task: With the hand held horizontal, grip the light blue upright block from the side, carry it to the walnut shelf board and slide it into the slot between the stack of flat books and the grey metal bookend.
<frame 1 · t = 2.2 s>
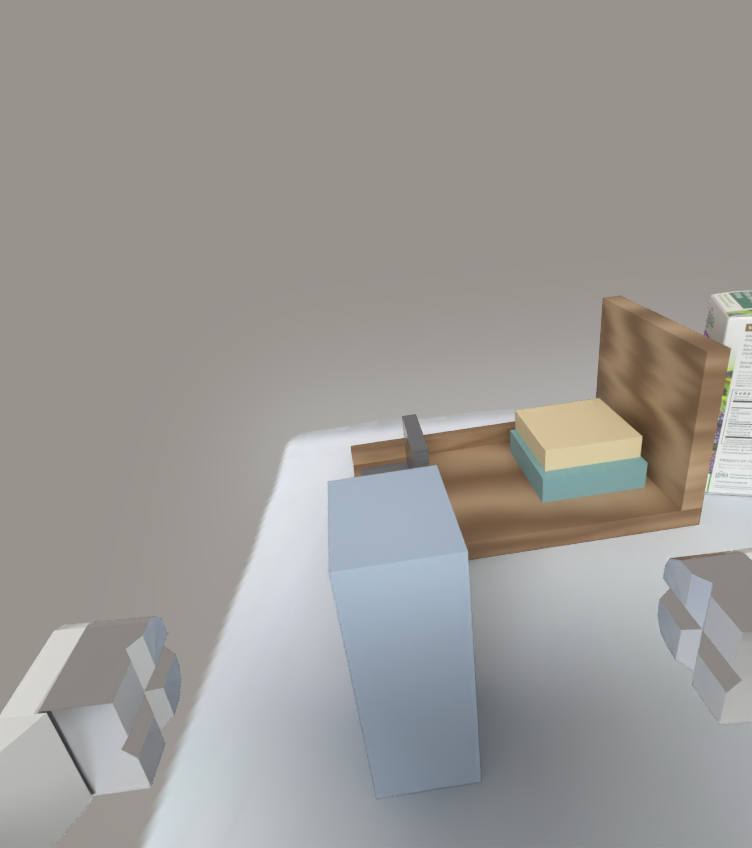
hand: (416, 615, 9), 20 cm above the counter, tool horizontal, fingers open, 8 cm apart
syrup box: (726, 478, 44), on the counter
bookend: (391, 461, 45), point 4 cm above the counter
light blue upright block: (419, 730, 28), on the counter
book stack: (573, 447, 44), point 4 cm above the counter
shelf: (478, 499, 45), on the counter
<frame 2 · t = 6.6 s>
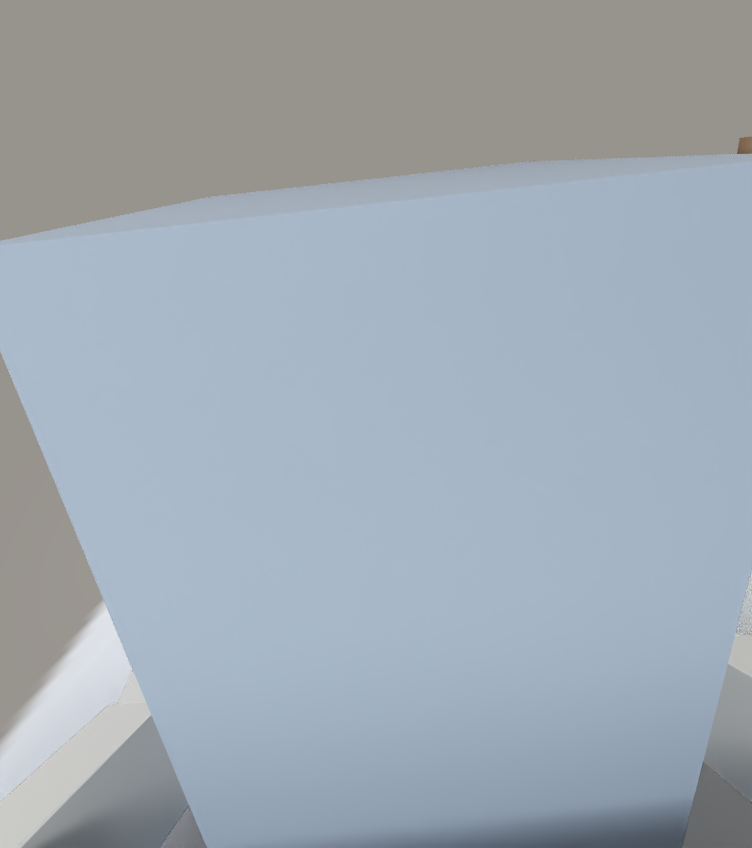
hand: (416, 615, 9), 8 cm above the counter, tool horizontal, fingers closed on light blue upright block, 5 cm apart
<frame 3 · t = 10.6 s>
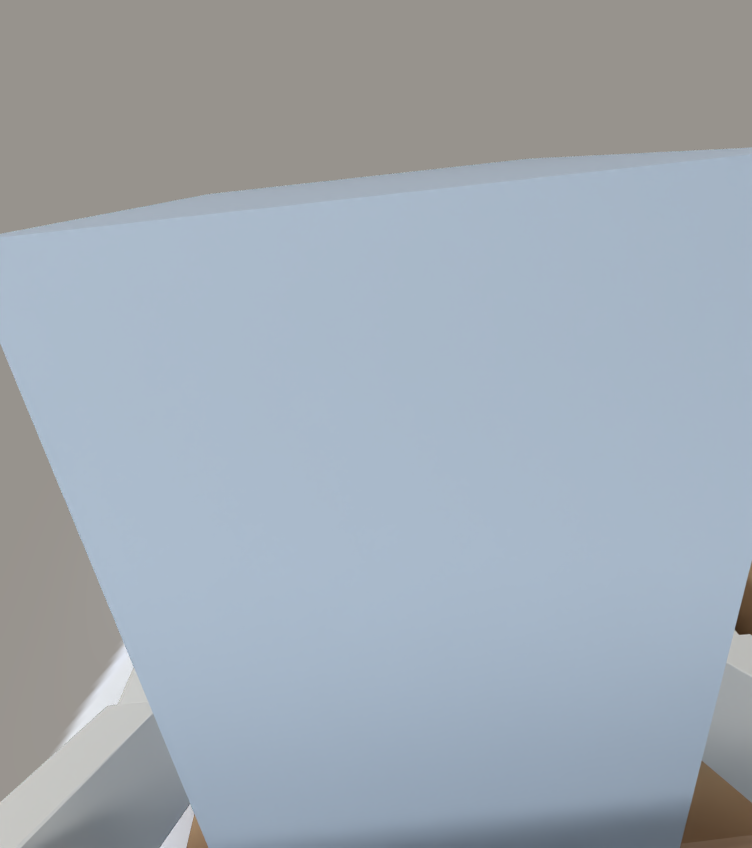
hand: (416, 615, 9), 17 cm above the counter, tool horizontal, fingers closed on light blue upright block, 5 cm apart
shelf: (431, 716, 26), on the counter
when the fingers open (10 cm above the counter, at t = 14.8 s): light blue upright block drops 1 cm, resting on shelf.
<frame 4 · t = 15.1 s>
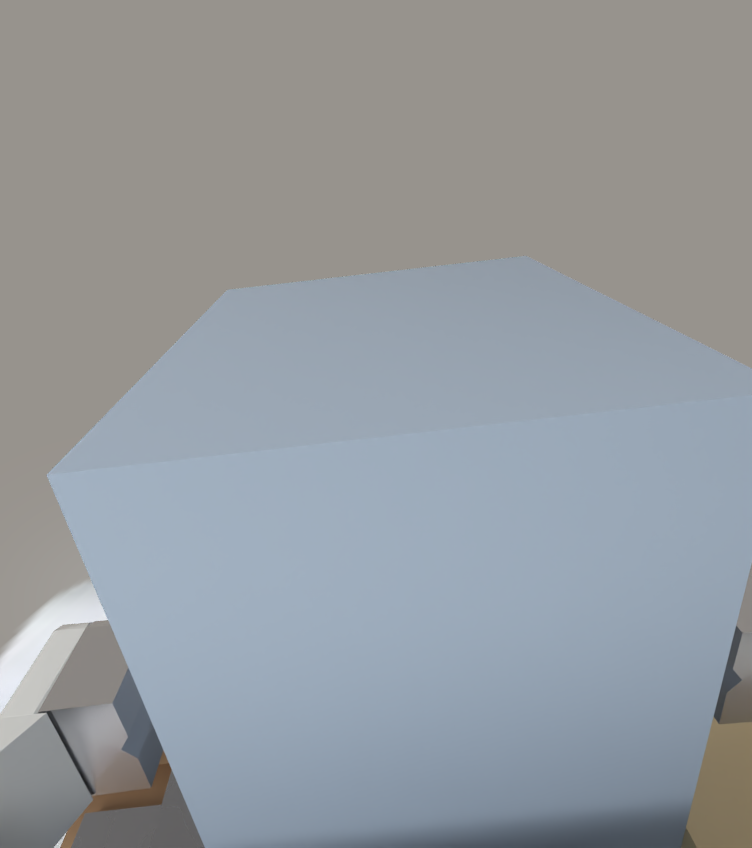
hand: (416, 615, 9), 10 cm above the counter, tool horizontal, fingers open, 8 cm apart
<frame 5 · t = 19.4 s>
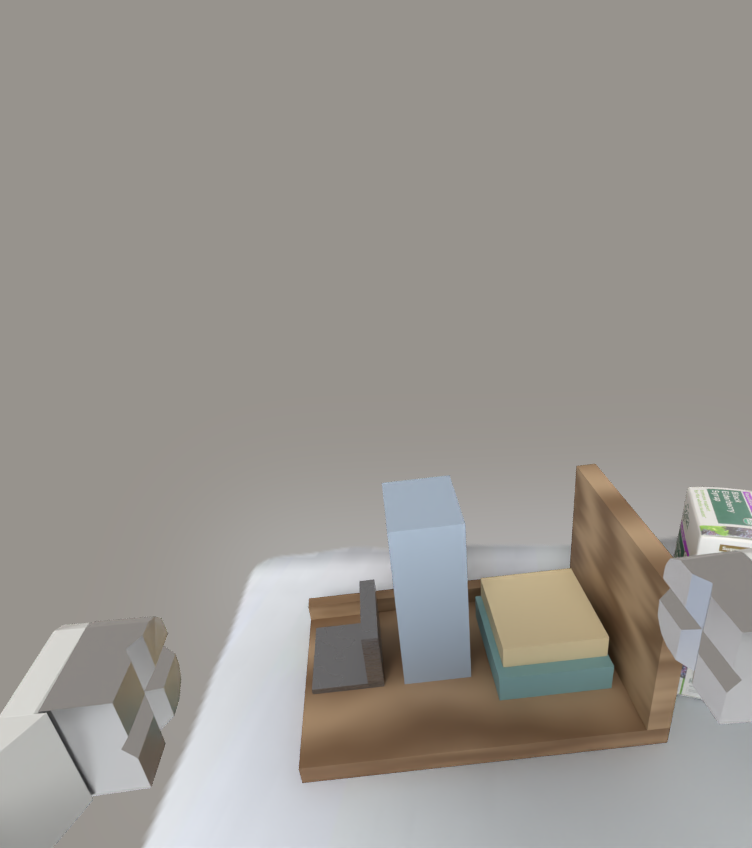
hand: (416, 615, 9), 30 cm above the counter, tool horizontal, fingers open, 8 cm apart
syrup box: (704, 672, 41), on the counter
bookend: (344, 634, 42), point 4 cm above the counter
light blue upright block: (432, 648, 43), point 1 cm above the counter, touching shelf
book stack: (538, 629, 41), point 4 cm above the counter
shelf: (435, 677, 43), on the counter
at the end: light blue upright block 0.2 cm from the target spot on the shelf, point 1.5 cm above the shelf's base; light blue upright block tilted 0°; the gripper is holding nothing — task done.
